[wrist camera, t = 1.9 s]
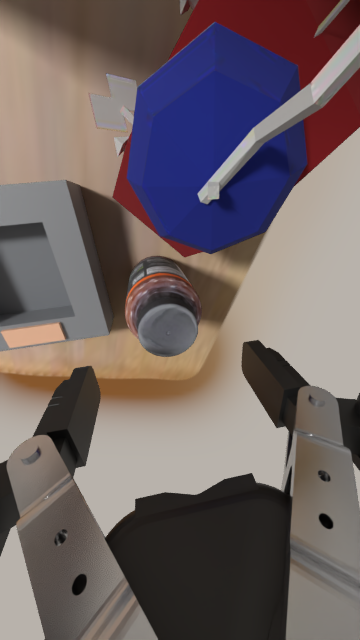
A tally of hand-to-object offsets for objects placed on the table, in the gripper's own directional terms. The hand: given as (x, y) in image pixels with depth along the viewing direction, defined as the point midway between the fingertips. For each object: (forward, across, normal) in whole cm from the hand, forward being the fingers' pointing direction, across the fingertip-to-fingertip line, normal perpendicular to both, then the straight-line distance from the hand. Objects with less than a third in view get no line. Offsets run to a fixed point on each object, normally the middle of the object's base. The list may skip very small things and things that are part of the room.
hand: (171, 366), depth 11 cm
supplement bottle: (+14, 0, 0) cm, 14 cm away
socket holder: (+14, +12, -3) cm, 19 cm away
